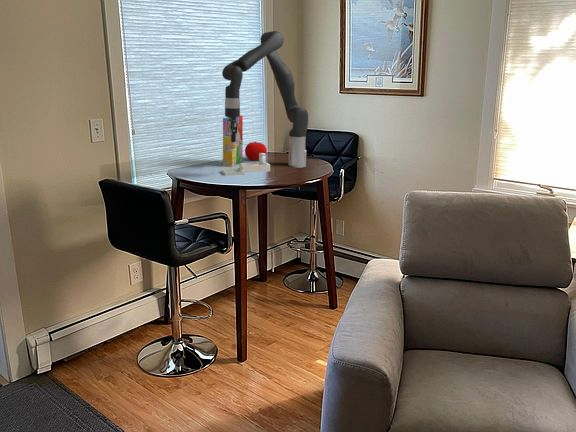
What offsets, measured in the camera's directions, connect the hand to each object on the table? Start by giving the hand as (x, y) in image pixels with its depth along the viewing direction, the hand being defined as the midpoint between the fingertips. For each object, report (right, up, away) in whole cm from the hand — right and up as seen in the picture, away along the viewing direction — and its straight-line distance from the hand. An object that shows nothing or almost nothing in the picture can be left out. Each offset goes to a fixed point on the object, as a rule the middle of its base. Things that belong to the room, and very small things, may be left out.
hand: (232, 141), depth 276 cm
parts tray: (0, -17, +5) cm, 17 cm away
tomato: (+9, -5, +49) cm, 50 cm away
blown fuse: (0, -4, +1) cm, 5 cm away
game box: (-3, -9, +31) cm, 33 cm away
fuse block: (+11, -15, +13) cm, 22 cm away
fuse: (+14, -14, +14) cm, 24 cm away
